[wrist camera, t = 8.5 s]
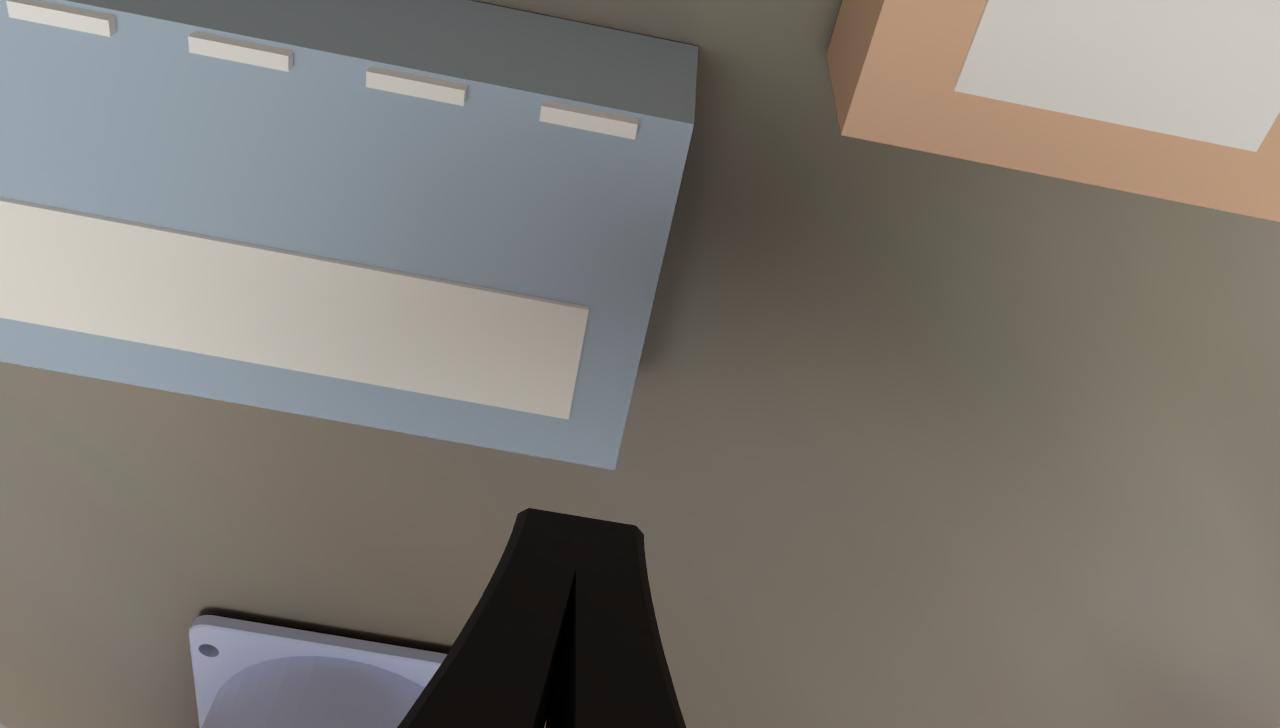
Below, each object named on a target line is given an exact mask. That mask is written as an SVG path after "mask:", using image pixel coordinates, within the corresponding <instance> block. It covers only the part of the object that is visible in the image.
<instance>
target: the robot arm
mask: <svg viewBox="0 0 1280 728" xmlns="http://www.w3.org/2000/svg"><path fill="white" fill-rule="evenodd" d="M189 642H190V651H191V659H192V668H193V676H194V684H195V693H196V701H197V710H198V718H199V727H200V728H544V726H545V722H546V728H686V726H685V722H684V719H683V716H682V713H681V710H680V707H679V704H678V700H677V697H676V693H675V690H674V686H673V683H672V679H671V676H670V672H669V669H668V665H667V662H666V658H665V655H664V651H663V647H662V643H661V639H660V635H659V630H658V626H657V621H656V617H655V612H654V607H653V603H652V598H651V592H650V587H649V581H648V574H647V568H646V559H645V550H644V534H643V533H642V532H641V531H640V530H639V529H638V527H637V526H635V525H629V524H623V523H617V522H610V521H604V520H598V519H592V518H586V517H580V516H574V515H568V514H562V513H556V512H550V511H543V510H537V509H531V508H528V509H526V510H524V511H522V512H520V513H518V515H517V518H516V521H515V525H514V528H513V531H512V534H511V536H510V539H509V541H508V544H507V546H506V548H505V551H504V553H503V555H502V558H501V560H500V562H499V564H498V566H497V568H496V570H495V572H494V574H493V576H492V578H491V580H490V582H489V584H488V586H487V587H486V589H485V591H484V593H483V595H482V597H481V599H480V601H479V602H478V604H477V606H476V608H475V609H474V611H473V613H472V614H471V616H470V618H469V619H468V621H467V623H466V624H465V626H464V628H463V629H462V631H461V633H460V634H459V636H458V638H457V639H456V641H455V643H454V644H453V646H452V648H451V649H450V651H449V653H448V654H444V653H438V652H432V651H426V650H420V649H414V648H408V647H402V646H396V645H390V644H384V643H378V642H372V641H366V640H360V639H354V638H348V637H342V636H336V635H330V634H324V633H318V632H312V631H305V630H299V629H293V628H287V627H281V626H275V625H269V624H263V623H257V622H251V621H245V620H239V619H233V618H227V617H221V616H215V615H202V616H199V617H197V618H196V619H195V620H194V621H193V623H192V625H191V627H190V629H189Z"/></svg>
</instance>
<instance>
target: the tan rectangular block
mask: <svg viewBox="0 0 1280 728" xmlns="http://www.w3.org/2000/svg"><path fill="white" fill-rule="evenodd" d="M826 58H827V63H828V68H829V74H830V79H831V84H832V90H833V95H834V100H835V106H836V111H837V116H838V122H839V127H840V132H841V135H843V136H848V137H853V138H858V139H863V140H868V141H873V142H878V143H883V144H889V145H894V146H899V147H904V148H909V149H914V150H919V151H924V152H929V153H934V154H939V155H944V156H949V157H954V158H959V159H964V160H969V161H974V162H979V163H984V164H989V165H994V166H999V167H1005V168H1010V169H1015V170H1020V171H1025V172H1030V173H1035V174H1040V175H1045V176H1050V177H1055V178H1060V179H1065V180H1070V181H1075V182H1080V183H1085V184H1090V185H1095V186H1100V187H1105V188H1110V189H1115V190H1121V191H1126V192H1131V193H1136V194H1141V195H1146V196H1151V197H1156V198H1161V199H1166V200H1171V201H1176V202H1181V203H1186V204H1191V205H1196V206H1201V207H1206V208H1211V209H1216V210H1221V211H1226V212H1232V213H1237V214H1242V215H1247V216H1252V217H1257V218H1262V219H1267V220H1272V221H1277V222H1280V0H842V4H841V7H840V10H839V14H838V17H837V20H836V24H835V27H834V30H833V34H832V37H831V40H830V44H829V47H828V50H827V54H826Z"/></svg>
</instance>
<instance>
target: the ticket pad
mask: <svg viewBox="0 0 1280 728" xmlns="http://www.w3.org/2000/svg"><path fill="white" fill-rule="evenodd" d="M697 64H698V46H694V45H689V44H684V43H679V42H674V41H669V40H664V39H659V38H654V37H649V36H644V35H639V34H635V33H630V32H625V31H620V30H615V29H610V28H605V27H600V26H595V25H590V24H585V23H580V22H575V21H570V20H565V19H560V18H555V17H550V16H545V15H540V14H535V13H530V12H525V11H520V10H515V9H511V8H506V7H501V6H496V5H491V4H486V3H481V2H476V1H471V0H0V361H1V362H6V363H12V364H18V365H23V366H29V367H35V368H40V369H46V370H52V371H57V372H63V373H68V374H74V375H80V376H85V377H91V378H97V379H102V380H108V381H114V382H119V383H125V384H131V385H136V386H142V387H147V388H153V389H159V390H164V391H170V392H176V393H181V394H187V395H193V396H198V397H204V398H209V399H215V400H221V401H226V402H232V403H238V404H243V405H249V406H255V407H260V408H266V409H272V410H277V411H283V412H288V413H294V414H300V415H305V416H311V417H317V418H322V419H328V420H334V421H339V422H345V423H350V424H356V425H362V426H367V427H373V428H379V429H384V430H390V431H396V432H401V433H407V434H413V435H418V436H424V437H429V438H435V439H441V440H446V441H452V442H458V443H463V444H469V445H475V446H480V447H486V448H492V449H497V450H503V451H508V452H514V453H520V454H525V455H531V456H537V457H542V458H548V459H554V460H559V461H565V462H570V463H576V464H582V465H587V466H593V467H599V468H604V469H610V470H615V466H616V462H617V458H618V453H619V449H620V444H621V440H622V436H623V431H624V427H625V423H626V418H627V414H628V410H629V405H630V401H631V397H632V392H633V388H634V384H635V379H636V375H637V371H638V366H639V362H640V357H641V353H642V349H643V344H644V340H645V336H646V331H647V327H648V323H649V318H650V314H651V310H652V305H653V301H654V297H655V292H656V288H657V284H658V279H659V275H660V270H661V266H662V262H663V257H664V253H665V249H666V244H667V240H668V236H669V231H670V227H671V223H672V218H673V214H674V210H675V205H676V201H677V197H678V192H679V188H680V184H681V179H682V175H683V170H684V166H685V162H686V157H687V153H688V149H689V144H690V140H691V136H692V131H693V127H694V117H695V99H696V82H697Z"/></svg>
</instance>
